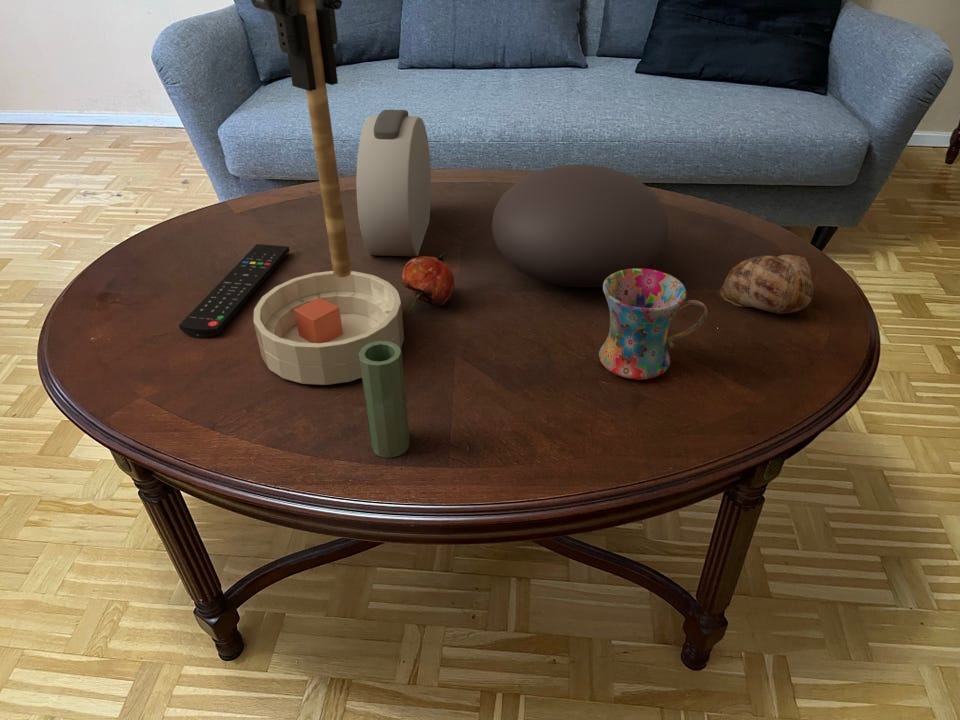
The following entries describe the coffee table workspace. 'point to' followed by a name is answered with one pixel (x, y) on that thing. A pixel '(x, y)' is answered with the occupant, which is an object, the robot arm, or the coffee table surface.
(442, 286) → the pomegranate
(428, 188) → the alarm clock
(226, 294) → the remote control
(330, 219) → the stick
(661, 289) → the mug
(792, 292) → the seashell
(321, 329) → the block
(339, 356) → the bowl
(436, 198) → the coffee table surface
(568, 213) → the flattened ellipsoid
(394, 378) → the holder
